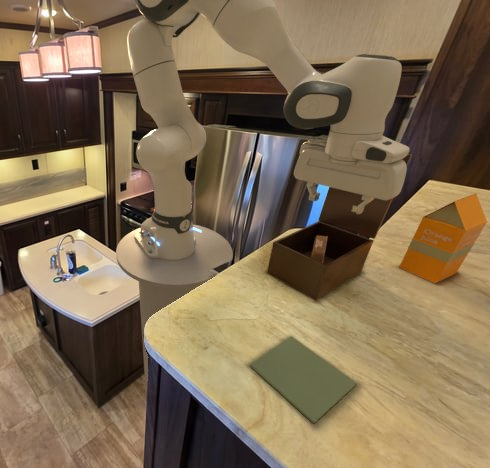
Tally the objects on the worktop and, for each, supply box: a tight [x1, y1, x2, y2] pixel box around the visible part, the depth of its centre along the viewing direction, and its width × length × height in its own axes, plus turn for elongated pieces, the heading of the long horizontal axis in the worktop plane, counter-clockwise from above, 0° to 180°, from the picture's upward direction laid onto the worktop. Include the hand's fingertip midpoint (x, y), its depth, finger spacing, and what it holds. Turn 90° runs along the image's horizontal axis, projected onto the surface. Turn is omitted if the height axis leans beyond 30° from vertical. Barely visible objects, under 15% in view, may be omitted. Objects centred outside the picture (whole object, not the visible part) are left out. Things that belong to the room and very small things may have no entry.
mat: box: [249, 336, 358, 425], centre depth 51 cm, size 12×12×1 cm
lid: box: [318, 153, 413, 240], centre depth 71 cm, size 20×13×5 cm
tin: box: [311, 235, 328, 263], centre depth 73 cm, size 15×3×8 cm, turn 145°
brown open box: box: [266, 220, 375, 301], centre depth 73 cm, size 19×13×10 cm
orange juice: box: [398, 193, 488, 284], centre depth 68 cm, size 8×9×20 cm
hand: (333, 206), depth 66 cm, fingers open, 8 cm apart
